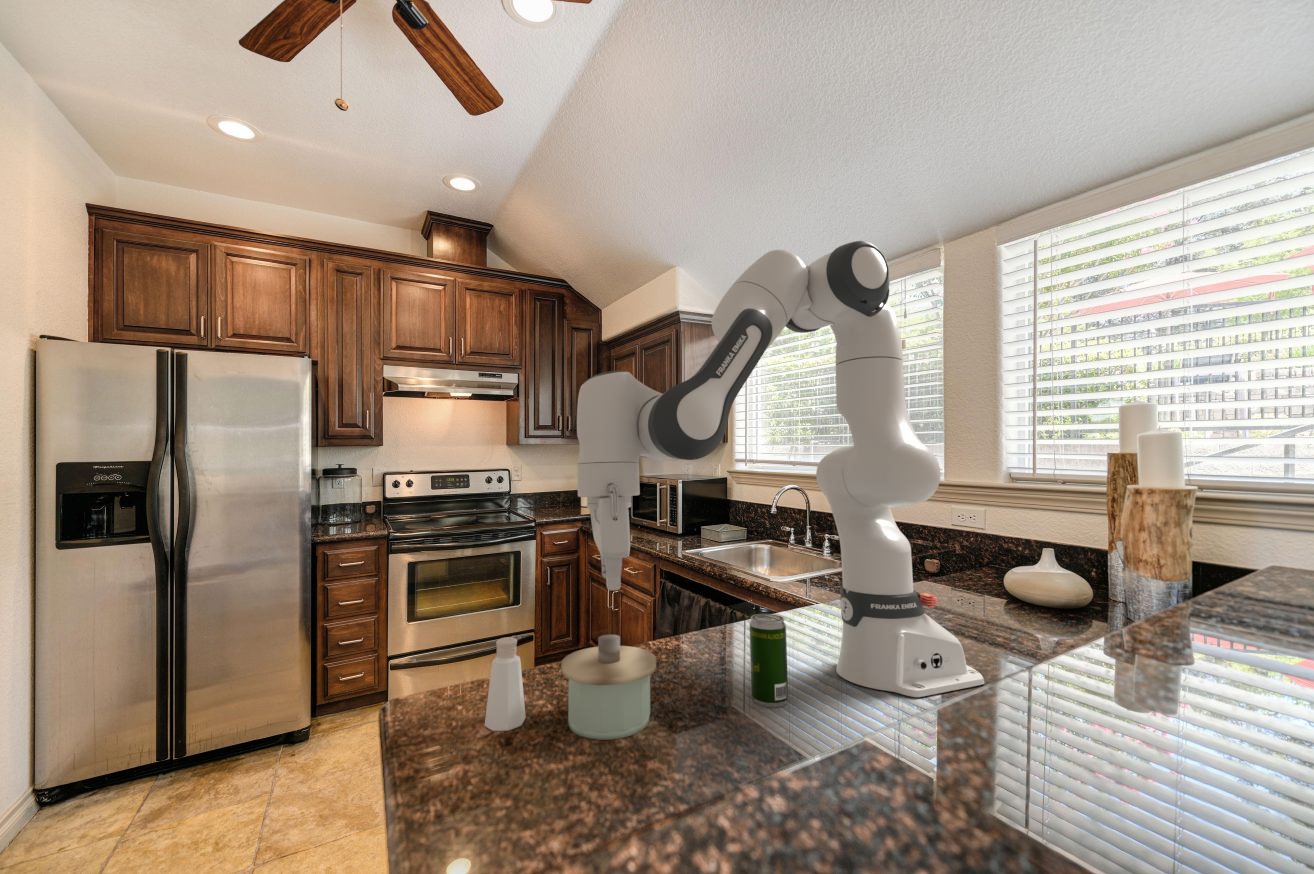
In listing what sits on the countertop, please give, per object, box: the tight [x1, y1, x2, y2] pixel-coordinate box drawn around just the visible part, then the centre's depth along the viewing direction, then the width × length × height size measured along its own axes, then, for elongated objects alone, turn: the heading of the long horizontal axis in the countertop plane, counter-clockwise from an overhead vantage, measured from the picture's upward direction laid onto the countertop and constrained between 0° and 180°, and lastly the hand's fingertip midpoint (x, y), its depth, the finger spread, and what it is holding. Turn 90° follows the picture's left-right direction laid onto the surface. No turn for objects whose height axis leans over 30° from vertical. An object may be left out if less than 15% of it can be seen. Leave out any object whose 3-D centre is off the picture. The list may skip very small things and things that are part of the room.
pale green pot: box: [567, 675, 651, 741], centre depth 72 cm, size 11×11×7 cm
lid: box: [561, 634, 657, 685], centre depth 72 cm, size 13×13×4 cm
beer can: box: [749, 613, 789, 708], centre depth 78 cm, size 5×5×12 cm
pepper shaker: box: [484, 636, 526, 732], centre depth 72 cm, size 5×5×11 cm
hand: (610, 582), depth 73 cm, fingers open, 8 cm apart
